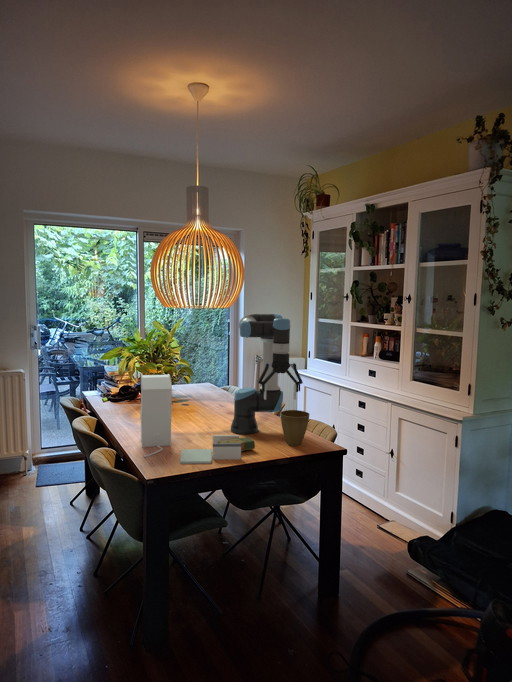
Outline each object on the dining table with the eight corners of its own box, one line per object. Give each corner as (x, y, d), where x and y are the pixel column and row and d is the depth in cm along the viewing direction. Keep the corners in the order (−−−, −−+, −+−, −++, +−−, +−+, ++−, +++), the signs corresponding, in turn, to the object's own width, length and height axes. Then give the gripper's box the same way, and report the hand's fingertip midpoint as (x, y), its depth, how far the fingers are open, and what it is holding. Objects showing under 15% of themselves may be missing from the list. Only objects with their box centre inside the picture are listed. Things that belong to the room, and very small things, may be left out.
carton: (217, 449, 241) (217, 441, 240) (246, 444, 249) (246, 435, 248) (225, 454, 234) (225, 445, 233) (255, 448, 242) (254, 440, 241)
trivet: (182, 451, 239) (182, 449, 239) (211, 451, 240) (211, 449, 240) (179, 463, 221) (179, 461, 221) (211, 463, 223) (211, 461, 222)
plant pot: (273, 443, 255) (274, 412, 254) (292, 438, 265) (293, 408, 264) (295, 450, 244) (296, 418, 243) (314, 444, 255) (315, 413, 254)
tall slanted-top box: (167, 436, 265) (167, 370, 262) (174, 456, 231) (174, 382, 228) (139, 437, 261) (139, 371, 258) (142, 458, 227) (142, 382, 224)
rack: (212, 447, 247) (212, 432, 246) (238, 446, 248) (239, 432, 247) (212, 459, 228) (212, 444, 227) (240, 459, 229) (241, 444, 228)
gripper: (254, 353, 220) (253, 400, 222) (309, 353, 223) (308, 400, 224) (252, 351, 228) (251, 397, 229) (306, 352, 230) (305, 397, 232)
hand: (279, 399), depth 227 cm, fingers open, 13 cm apart
